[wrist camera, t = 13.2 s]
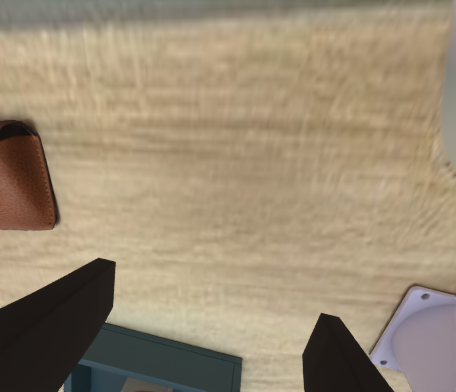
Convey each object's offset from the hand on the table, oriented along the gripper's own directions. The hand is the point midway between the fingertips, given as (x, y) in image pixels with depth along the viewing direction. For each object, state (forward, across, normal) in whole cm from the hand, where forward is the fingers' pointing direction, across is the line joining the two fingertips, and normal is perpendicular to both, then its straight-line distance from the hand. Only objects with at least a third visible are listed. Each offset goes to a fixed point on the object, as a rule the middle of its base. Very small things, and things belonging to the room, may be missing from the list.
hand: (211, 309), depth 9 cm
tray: (+10, +3, +22) cm, 25 cm away
